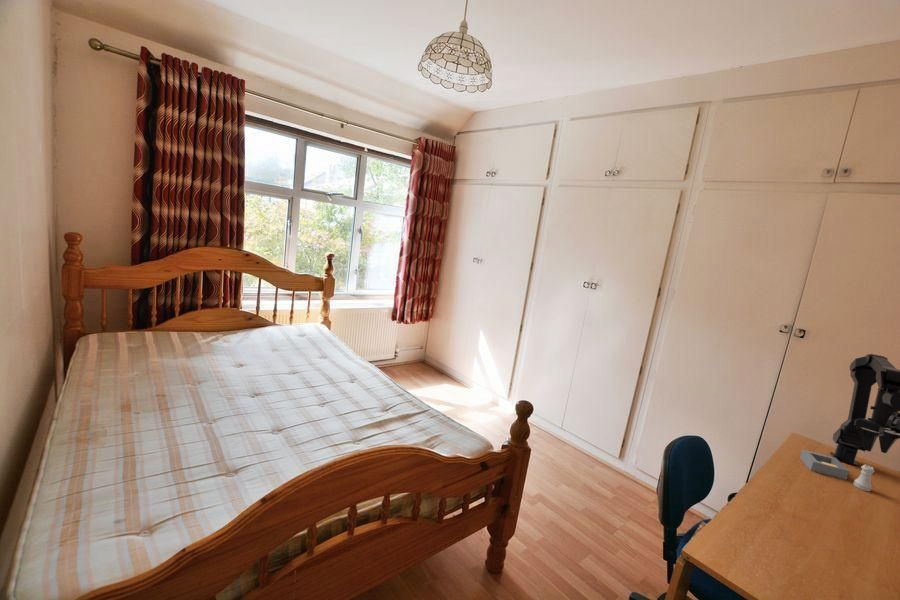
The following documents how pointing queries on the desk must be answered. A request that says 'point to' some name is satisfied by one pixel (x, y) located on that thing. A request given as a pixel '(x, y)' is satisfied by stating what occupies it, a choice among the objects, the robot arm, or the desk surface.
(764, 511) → the desk surface
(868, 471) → the rook chess piece
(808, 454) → the grey square tray
